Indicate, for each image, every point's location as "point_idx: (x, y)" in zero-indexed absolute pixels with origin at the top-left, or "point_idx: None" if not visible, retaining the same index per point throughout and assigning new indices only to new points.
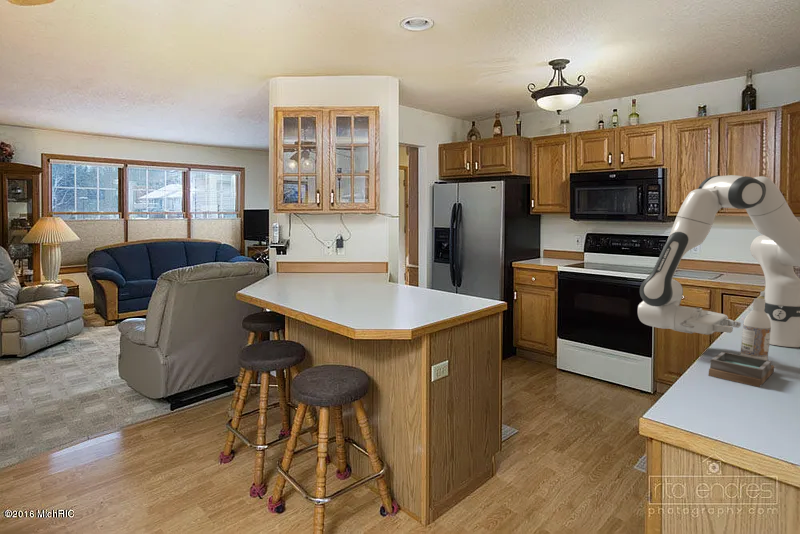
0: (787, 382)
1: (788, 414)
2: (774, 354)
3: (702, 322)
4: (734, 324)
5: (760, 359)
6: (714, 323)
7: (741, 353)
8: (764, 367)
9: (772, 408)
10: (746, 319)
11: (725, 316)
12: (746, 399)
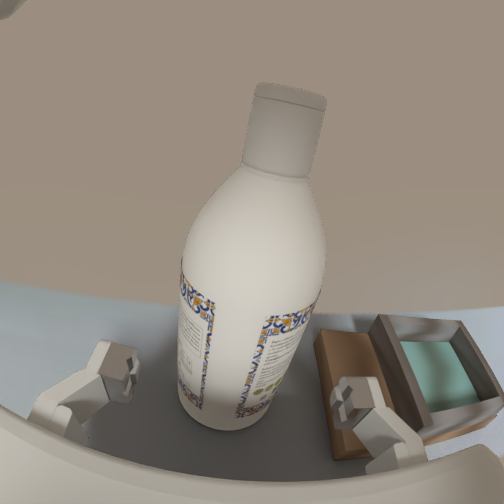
0: (368, 320)
1: (483, 311)
2: (70, 329)
3: (501, 486)
4: (126, 385)
5: (394, 332)
6: (420, 463)
7: (252, 416)
8: (442, 320)
9: (488, 323)
10: (309, 270)
11: (2, 408)
12: (498, 347)
